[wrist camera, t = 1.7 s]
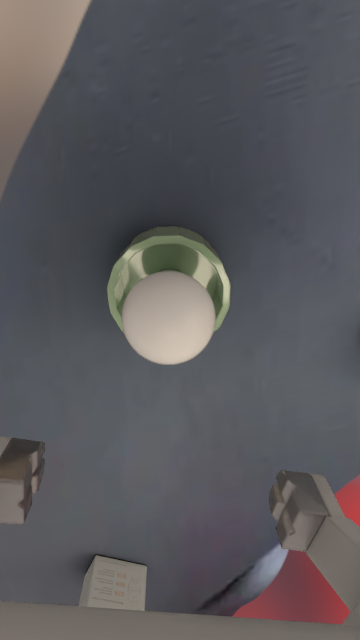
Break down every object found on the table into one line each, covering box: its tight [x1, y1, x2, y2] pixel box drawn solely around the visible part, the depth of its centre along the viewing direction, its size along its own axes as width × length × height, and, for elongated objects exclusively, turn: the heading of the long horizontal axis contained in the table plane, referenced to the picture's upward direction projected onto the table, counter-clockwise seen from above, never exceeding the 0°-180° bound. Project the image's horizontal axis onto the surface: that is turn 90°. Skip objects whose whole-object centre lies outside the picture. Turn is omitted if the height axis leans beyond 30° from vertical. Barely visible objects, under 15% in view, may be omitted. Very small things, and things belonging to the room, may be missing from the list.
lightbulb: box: [122, 269, 216, 365], centre depth 24 cm, size 6×6×11 cm
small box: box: [79, 555, 147, 611], centre depth 44 cm, size 8×6×10 cm
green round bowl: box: [107, 226, 230, 333], centre depth 28 cm, size 10×10×4 cm
